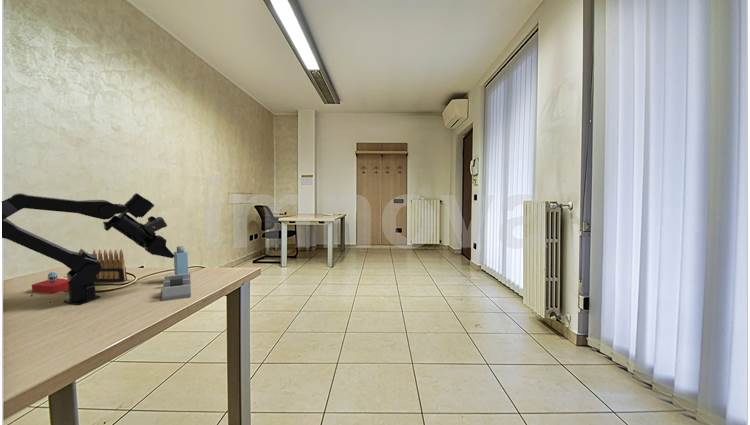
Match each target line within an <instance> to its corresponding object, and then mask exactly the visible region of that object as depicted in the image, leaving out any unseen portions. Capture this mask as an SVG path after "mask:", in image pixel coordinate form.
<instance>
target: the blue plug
mask: <svg viewBox="0 0 750 425" xmlns="http://www.w3.org/2000/svg"><path fill="white" fill-rule="evenodd" d="M173 255H174V257H173V266H174V268H173V269H174V275H180V274H189V254H188V252H187V251H186V250H185V246H184V245H181V246H180V245H179V246H176V251H174V252H173Z"/></svg>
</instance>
